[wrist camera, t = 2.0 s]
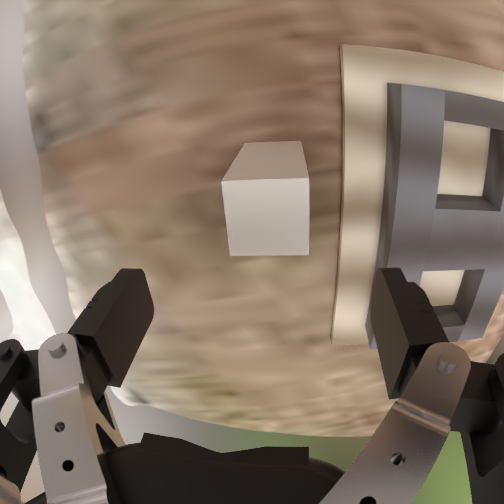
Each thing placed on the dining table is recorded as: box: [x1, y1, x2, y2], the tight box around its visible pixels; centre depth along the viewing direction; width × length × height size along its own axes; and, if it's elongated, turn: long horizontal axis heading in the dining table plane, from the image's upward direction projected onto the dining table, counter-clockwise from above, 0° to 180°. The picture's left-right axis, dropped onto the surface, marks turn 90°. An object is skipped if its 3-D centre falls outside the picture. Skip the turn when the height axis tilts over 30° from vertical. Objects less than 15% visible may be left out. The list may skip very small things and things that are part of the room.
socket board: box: [331, 44, 504, 349], centre depth 22 cm, size 26×18×4 cm
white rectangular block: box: [221, 141, 309, 256], centre depth 19 cm, size 4×4×9 cm
